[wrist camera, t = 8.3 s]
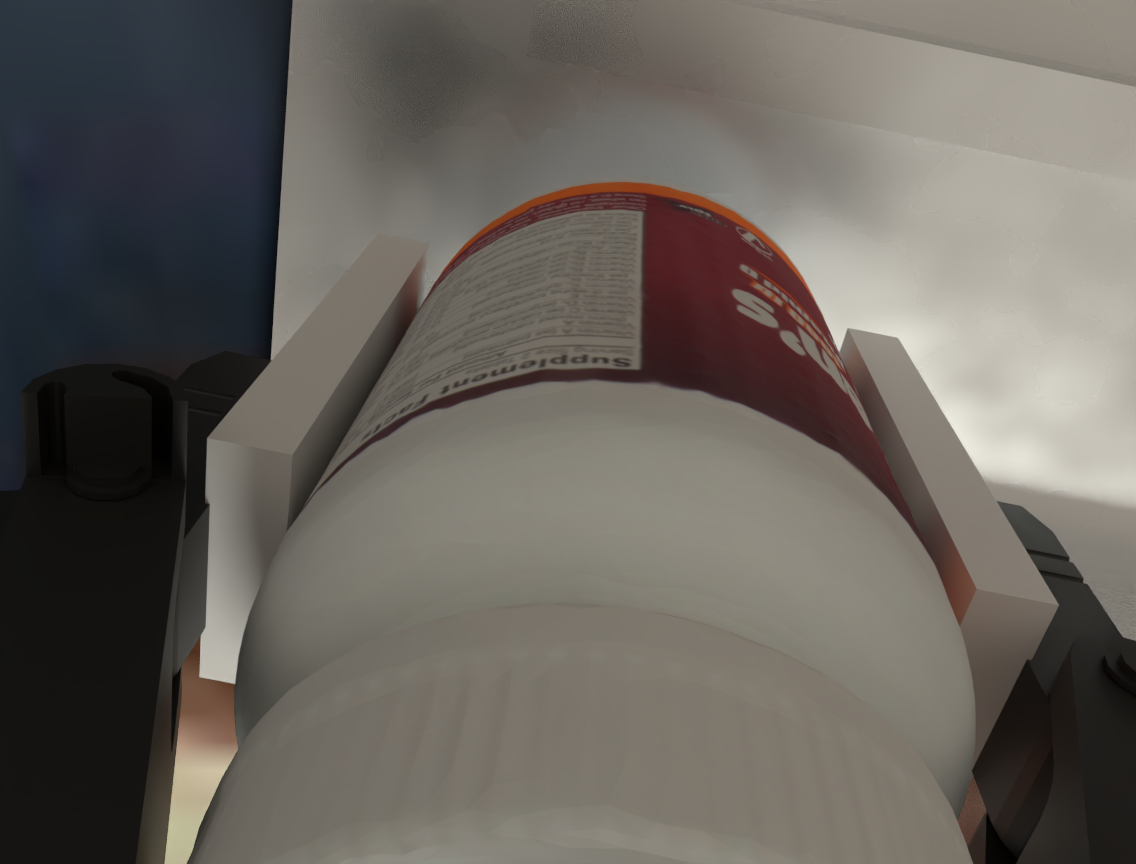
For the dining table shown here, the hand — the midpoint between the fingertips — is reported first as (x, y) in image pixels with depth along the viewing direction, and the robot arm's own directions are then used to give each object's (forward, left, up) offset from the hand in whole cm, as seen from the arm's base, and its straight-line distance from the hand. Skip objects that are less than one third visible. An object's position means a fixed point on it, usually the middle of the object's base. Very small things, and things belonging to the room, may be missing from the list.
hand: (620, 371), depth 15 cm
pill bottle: (0, 0, -1) cm, 1 cm away
